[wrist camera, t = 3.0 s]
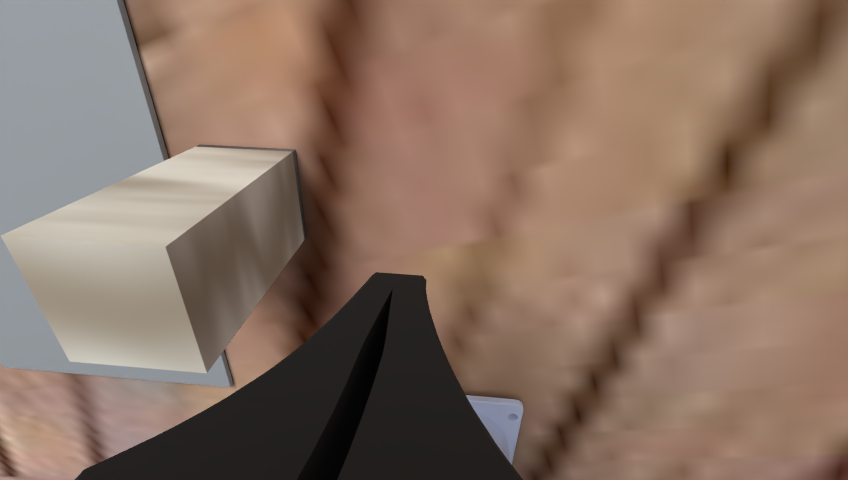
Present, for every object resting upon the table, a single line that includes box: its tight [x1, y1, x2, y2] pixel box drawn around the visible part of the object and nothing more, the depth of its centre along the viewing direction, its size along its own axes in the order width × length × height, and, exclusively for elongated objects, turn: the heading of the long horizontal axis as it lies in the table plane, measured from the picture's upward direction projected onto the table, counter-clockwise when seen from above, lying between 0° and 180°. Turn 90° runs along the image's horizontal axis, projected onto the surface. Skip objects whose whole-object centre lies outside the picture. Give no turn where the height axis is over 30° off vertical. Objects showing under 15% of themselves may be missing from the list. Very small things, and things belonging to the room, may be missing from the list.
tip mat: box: [0, 0, 233, 387], centre depth 17 cm, size 24×14×1 cm, turn 179°
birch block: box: [1, 145, 307, 373], centre depth 14 cm, size 4×4×8 cm
